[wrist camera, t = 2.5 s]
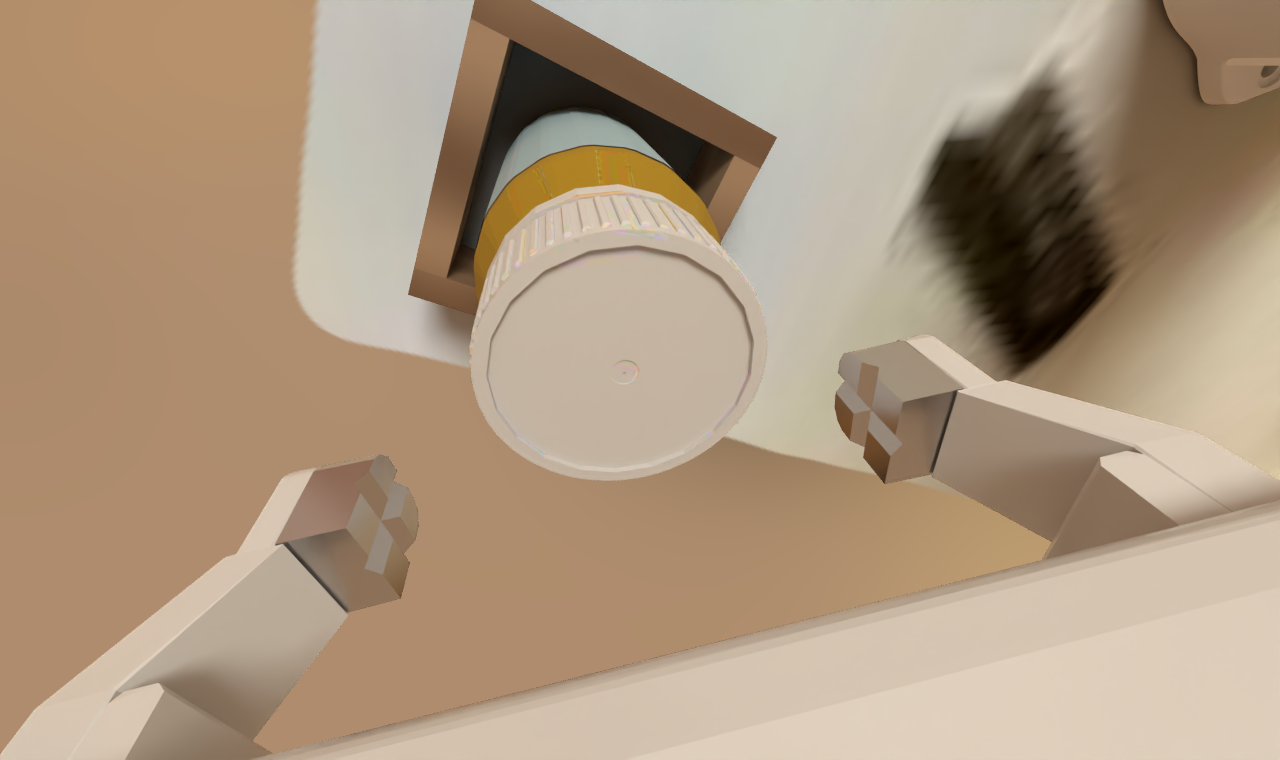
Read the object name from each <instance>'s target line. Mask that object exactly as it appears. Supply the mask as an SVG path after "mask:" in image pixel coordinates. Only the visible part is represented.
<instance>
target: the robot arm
mask: <svg viewBox="0 0 1280 760" xmlns="http://www.w3.org/2000/svg"><path fill="white" fill-rule="evenodd" d="M1163 3H1164V7H1165V10H1166V12H1167V15H1168V18H1169V20H1170V21H1171V23H1172V25H1173V27H1174V28H1175V30H1176V31H1177V32H1178V34H1179V35H1180V36H1181V37H1182V38H1183V39H1184V40H1185V41H1186V42H1187V43H1188V44H1189V46H1190V47H1191V48H1192V50H1193V51H1194V53H1195V55H1196V57H1197V68H1198V83H1199V91H1200V95H1201V98H1202V100H1203V101H1204V102H1205V103H1206V104H1210V105H1216V104H1237V103H1241V102H1243V101H1246V100H1249V99H1251V98H1254V97H1256V96H1259V95H1261V94H1264V93H1267V92H1269V91H1272V90H1274V89H1277V88H1279V87H1280V0H1163ZM838 373H839V374H840V376H841V377H842V378H843V379H844V380H845V381H844V383H843V384H842V385H841V386H840V388H839V389H838V390H837V392H836V396H835V411H836V415H837V420H838V422H839V424H840V427H841V429H842V431H843V432H844V433H845V435H846V436H847V437H848V439H849V440H850V441H852V442H855V443H857V444H859V445H861V446H864V447H865V449H864V456H863V458H864V459H865V460H866V461H867V463H868V464H869V465H870V466H871V468H872V469H873V470H874V471H875V473H876V474H877V475H878V476H879V478H880V479H881V480H882V481H883V483H884V484H887V483H891V482H897V481H902V480H906V479H911V478H916V477H921V476H926V475H930V474H932V477H934V478H935V479H937V480H939V481H941V482H943V483H945V484H946V485H948V486H950V487H952V488H954V489H956V490H957V491H959V492H961V493H963V494H965V495H967V496H968V497H970V498H972V499H974V500H976V501H978V502H980V503H981V504H983V505H985V506H987V507H989V508H990V509H992V510H994V511H996V512H998V513H1000V514H1001V515H1003V516H1005V517H1007V518H1009V519H1011V520H1013V521H1014V522H1016V523H1018V524H1020V525H1022V526H1024V527H1025V528H1027V529H1029V530H1031V531H1033V532H1035V533H1036V534H1038V535H1040V536H1042V537H1044V538H1046V539H1047V540H1050V541H1051V542H1052V543H1051V544H1050V546H1049V548H1048V550H1047V552H1046V553H1045V555H1044V557H1043V558H1042V560H1041V561H1037V562H1033V563H1029V564H1025V565H1021V566H1017V567H1013V568H1009V569H1005V570H1001V571H997V572H993V573H990V574H985V575H982V576H977V577H973V578H969V579H966V580H961V581H957V582H953V583H949V584H945V585H941V586H938V587H934V588H930V589H926V590H922V591H918V592H914V593H910V594H906V595H902V596H898V597H894V598H890V599H886V600H882V601H878V602H874V603H870V604H866V605H862V606H858V607H854V608H850V609H846V610H842V611H838V612H834V613H830V614H827V615H823V616H818V617H814V618H810V619H806V620H803V621H799V622H795V623H791V624H787V625H783V626H779V627H775V628H771V629H767V630H763V631H759V632H755V633H751V634H747V635H743V636H739V637H735V638H731V639H728V640H723V641H720V642H715V643H711V644H707V645H703V646H699V647H695V648H691V649H687V650H683V651H680V652H675V653H672V654H668V655H664V656H660V657H656V658H652V659H648V660H644V661H640V662H636V663H632V664H628V665H624V666H620V667H616V668H612V669H608V670H605V671H600V672H596V673H593V674H589V675H585V676H580V677H577V678H573V679H569V680H565V681H561V682H557V683H553V684H549V685H545V686H541V687H537V688H533V689H529V690H525V691H521V692H517V693H513V694H509V695H505V696H501V697H497V698H493V699H489V700H485V701H481V702H477V703H473V704H469V705H466V706H461V707H457V708H453V709H449V710H445V711H442V712H438V713H434V714H429V715H425V716H422V717H418V718H414V719H410V720H406V721H402V722H398V723H394V724H390V725H386V726H382V727H378V728H374V729H370V730H366V731H362V732H358V733H354V734H350V735H346V736H342V737H338V738H334V739H330V740H326V741H322V742H319V743H314V744H310V745H306V746H303V747H298V748H295V749H290V750H286V751H282V752H278V753H274V754H273V753H271V752H270V751H268V750H267V749H265V748H264V747H262V746H260V745H259V744H257V743H255V742H254V741H253V739H254V738H255V737H256V736H257V734H258V733H259V732H260V730H261V729H262V728H263V726H264V725H265V724H266V722H267V721H268V720H269V718H270V717H271V716H272V715H273V713H274V712H275V711H276V709H277V708H278V707H279V705H280V704H281V703H282V701H283V700H284V699H285V698H286V696H287V695H288V694H289V692H290V691H291V690H292V688H293V687H294V686H295V684H296V683H297V682H298V681H299V679H300V678H301V677H302V675H303V674H304V673H305V671H306V670H307V669H308V668H309V666H310V665H311V664H312V662H313V661H314V660H315V658H316V657H317V656H318V654H319V653H320V652H321V650H322V649H323V648H324V647H325V645H326V644H327V643H328V641H329V640H330V639H331V637H332V636H333V635H334V633H335V632H336V631H337V630H338V628H339V627H340V626H341V624H342V623H343V622H344V620H345V619H346V618H347V616H348V613H347V612H351V611H355V610H359V609H363V608H366V607H370V606H374V605H378V604H382V603H385V602H389V601H393V600H397V599H400V598H401V596H402V592H403V588H404V584H405V580H406V576H407V572H408V568H409V564H410V562H409V561H408V559H407V558H406V556H405V555H404V553H405V551H406V550H407V549H408V548H409V547H410V546H411V545H412V544H413V542H414V541H415V540H416V536H417V531H418V527H419V524H418V509H417V506H416V503H415V500H414V497H413V495H412V494H411V492H410V490H409V489H408V488H407V487H405V486H403V485H401V484H399V483H397V482H395V481H394V479H395V475H396V473H397V469H396V468H395V466H394V465H393V463H392V462H391V460H390V459H389V457H387V456H384V455H375V456H370V457H365V458H360V459H354V460H349V461H344V462H339V463H334V464H329V465H325V466H321V467H315V468H311V469H306V470H301V471H296V472H292V473H290V474H288V475H286V476H285V477H283V478H282V479H281V481H280V483H279V484H278V486H277V488H276V490H275V491H274V493H273V494H272V496H271V498H270V499H269V501H268V503H267V505H266V506H265V508H264V509H263V511H262V513H261V514H260V516H259V517H258V519H257V521H256V523H255V524H254V526H253V528H252V529H251V531H250V533H249V534H248V536H247V537H246V539H245V541H244V542H243V544H242V546H241V547H240V549H239V551H238V552H237V554H236V555H232V556H227V557H225V558H224V559H222V560H221V561H220V562H219V563H217V564H216V565H215V566H214V567H212V568H211V569H210V570H209V571H207V572H206V573H205V574H204V575H202V576H201V577H200V578H199V579H197V580H196V581H195V582H194V583H192V584H191V585H190V586H189V587H187V588H186V589H185V590H184V591H182V592H181V593H180V594H179V595H177V596H176V597H175V598H174V599H172V600H171V601H170V602H169V603H167V604H166V605H165V606H164V607H163V608H161V609H160V610H158V611H157V612H156V613H155V614H153V615H152V616H151V617H150V618H148V619H147V620H146V621H145V622H143V623H142V624H141V625H140V626H139V627H137V628H136V629H135V630H134V631H132V632H131V633H130V634H128V635H127V636H126V637H125V638H123V639H122V640H121V641H120V642H118V643H117V644H116V645H115V646H114V647H112V648H111V649H110V650H108V651H107V652H106V653H105V654H103V655H102V656H101V657H100V658H98V659H97V660H96V661H95V662H94V663H92V664H91V665H90V666H88V667H87V668H86V669H85V670H83V671H82V672H81V673H80V674H78V675H77V676H76V677H75V678H73V679H72V680H71V681H70V682H68V683H67V684H66V685H65V686H63V687H62V688H61V689H60V690H58V691H57V692H56V693H55V694H53V695H52V696H51V697H50V698H48V699H47V700H46V701H45V702H43V703H42V704H41V705H40V706H38V707H37V708H36V709H35V710H34V711H33V712H32V714H31V715H30V716H29V718H28V719H27V720H26V722H25V723H24V724H23V725H22V727H21V728H20V729H19V731H18V732H17V733H16V735H15V736H14V737H13V739H12V740H11V741H10V742H9V744H8V745H7V746H6V748H5V749H4V750H3V752H2V753H1V754H0V760H1280V481H1279V480H1278V479H1276V478H1274V477H1272V476H1271V475H1269V474H1267V473H1266V472H1264V471H1262V470H1261V469H1259V468H1257V467H1255V466H1254V465H1252V464H1250V463H1249V462H1247V461H1245V460H1243V459H1242V458H1240V457H1238V456H1237V455H1235V454H1233V453H1232V452H1230V451H1228V450H1226V449H1225V448H1223V447H1221V446H1220V445H1218V444H1216V443H1214V442H1213V441H1211V440H1209V439H1208V438H1206V437H1204V436H1203V435H1201V434H1199V433H1197V432H1194V431H1191V430H1187V429H1183V428H1180V427H1176V426H1172V425H1169V424H1165V423H1161V422H1158V421H1154V420H1150V419H1147V418H1143V417H1139V416H1136V415H1132V414H1128V413H1125V412H1121V411H1117V410H1114V409H1110V408H1106V407H1103V406H1099V405H1095V404H1092V403H1088V402H1084V401H1081V400H1077V399H1073V398H1070V397H1066V396H1062V395H1058V394H1055V393H1051V392H1047V391H1044V390H1040V389H1036V388H1033V387H1029V386H1025V385H1022V384H1018V383H1014V382H1011V381H1007V380H1004V381H999V382H996V381H995V380H993V379H992V378H991V377H989V376H988V375H986V374H985V373H984V372H982V371H981V370H980V369H978V368H977V367H975V366H974V365H973V364H971V363H970V362H969V361H967V360H966V359H964V358H963V357H962V356H960V355H959V354H957V353H956V352H955V351H953V350H952V349H951V348H949V347H948V346H946V345H945V344H944V343H942V342H941V341H939V340H938V339H937V338H935V337H934V336H931V335H927V334H922V335H918V336H914V337H910V338H906V339H902V340H898V341H897V342H893V343H889V344H884V345H880V346H875V347H871V348H866V349H862V350H857V351H853V352H848V353H844V354H843V356H842V358H841V360H840V363H839V370H838Z"/></svg>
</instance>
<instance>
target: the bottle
mask: <svg viewBox="0 0 1280 760" xmlns="http://www.w3.org/2000/svg"><path fill="white" fill-rule="evenodd" d="M474 276H475V287H476V296H477V300H478V303H479V305H478V309H477V313H476V317H475V321H474V325H473V329H472V333H471V342H470V346H469V353H470V359H469V368H470V370H471V377H470V378H471V382H472V383H473V388H474V394H475V396H476V399H477V402H478V404H479V407H480V409H481V411H482V413H483V415H484V417H485V419H486V420H487V422H488V423H489V425H490V426H491V428H492V429H493V430H494V432H495V433H496V434H497V435H498V436H499V437H500V438H501V439H502V441H504V443H506V444H507V445H508V446H509V447H510V448H511V449H513V450H514V451H515V452H517V453H518V454H519V455H520V456H522V457H524V458H525V459H527V460H528V461H530V462H532V463H534V464H536V465H538V466H540V467H542V468H544V469H547V470H550V471H552V472H555V473H558V474H561V475H565V476H569V477H574V478H579V479H586V480H597V481H615V480H628V479H635V478H640V477H645V476H649V475H653V474H657V473H660V472H663V471H666V470H669V469H671V468H674V467H676V466H678V465H681V464H683V463H685V462H687V461H689V460H691V459H693V458H694V457H696V456H698V455H699V454H701V453H703V452H704V451H706V450H707V449H709V448H710V447H711V446H713V445H714V444H715V443H716V442H718V441H719V440H720V439H721V438H722V437H723V436H725V435H726V434H727V433H728V432H729V431H730V430H731V429H732V428H733V426H734V425H735V424H736V423H737V422H738V421H739V419H740V418H741V417H742V415H743V414H744V413H745V411H746V410H747V408H748V407H749V405H750V403H751V402H752V400H753V398H754V396H755V394H756V392H757V390H758V387H759V385H760V382H761V379H762V376H763V372H764V368H765V363H766V356H767V334H766V326H765V321H764V317H763V314H762V311H761V304H760V303H759V301H758V300H757V299H756V292H755V290H754V289H753V288H752V287H751V285H750V284H749V280H748V278H747V277H746V276H745V274H744V273H743V272H742V271H741V270H740V268H739V267H738V265H737V264H736V263H735V262H734V261H733V260H732V258H731V257H730V256H729V255H728V254H727V253H726V252H725V250H724V249H723V248H722V247H721V245H720V238H719V235H718V231H717V229H716V227H715V225H714V223H713V221H712V218H711V216H710V214H709V212H708V210H707V208H706V206H705V204H704V203H703V202H702V200H701V199H700V197H699V196H698V194H697V193H696V192H695V190H694V189H693V188H692V187H691V186H690V185H689V184H688V183H687V182H686V181H685V180H684V179H683V178H682V177H681V176H680V175H679V174H678V173H677V172H676V171H675V170H674V169H673V168H672V167H671V166H670V165H669V164H668V163H667V162H666V161H665V160H664V159H663V158H661V157H660V156H659V155H658V154H657V153H656V152H655V151H654V150H653V149H652V148H651V147H650V146H649V145H648V144H647V143H646V142H645V141H644V140H643V139H642V138H641V137H640V136H639V135H638V134H637V133H636V132H635V131H634V130H633V129H632V128H631V127H630V126H629V125H628V124H627V123H625V122H624V121H622V120H620V119H618V118H616V117H614V116H612V115H610V114H608V113H606V112H604V111H602V110H598V109H595V108H584V107H566V108H562V109H558V110H555V111H551V112H548V113H545V114H543V115H541V116H540V117H538V118H537V119H536V120H534V121H533V122H531V123H530V124H529V125H527V126H526V127H525V128H524V129H523V130H522V131H521V132H520V133H519V135H518V136H517V138H516V139H515V141H514V142H513V144H512V145H511V146H510V148H509V150H508V151H507V153H506V156H505V158H504V161H503V164H502V167H501V170H500V173H499V175H498V178H497V181H496V184H495V187H494V190H493V193H492V196H491V199H490V202H489V205H488V208H487V211H486V214H485V217H484V220H483V223H482V227H481V231H480V235H479V238H478V242H477V246H476V252H475V256H474Z"/></svg>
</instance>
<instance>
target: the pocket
mask: <svg viewBox="0 0 1280 760" xmlns="http://www.w3.org/2000/svg"><path fill="white" fill-rule="evenodd" d="M515 42H517V43H519V44H521V45H523V46H525V47H527V48H528V49H530V50H532V51H534V52H536V53H538V54H540V55H542V56H544V57H546V58H548V59H550V60H552V61H553V62H555V63H557V64H559V65H561V66H563V67H565V68H567V69H569V70H571V71H573V72H575V73H577V74H578V75H580V76H582V77H584V78H586V79H588V80H590V81H592V82H594V83H596V84H598V85H600V86H602V87H604V88H605V89H607V90H609V91H611V92H613V93H615V94H617V95H619V96H621V97H623V98H625V99H627V100H629V101H630V102H632V103H634V104H636V105H638V106H640V107H642V108H644V109H646V110H648V111H650V112H652V113H654V114H655V115H657V116H659V117H661V118H663V119H665V120H667V121H669V122H671V123H673V124H675V125H677V126H679V127H681V128H682V129H684V130H686V131H688V132H690V133H692V134H694V135H696V136H698V137H700V138H702V139H704V140H705V142H704V144H703V146H702V148H701V150H700V152H699V155H698V157H697V159H696V161H695V163H694V165H693V167H692V169H691V172H690V174H689V176H688V178H687V180H686V182H687V183H688V184H689V185H690V186H691V187H692V188H693V189H694V190H695V192H696V193H697V194H698V196H699V197H700V199H701V200H702V202H703V203H704V204H705V206H706V208H707V210H708V212H709V214H710V216H711V218H712V221H713V223H714V225H715V227H716V229H717V231H718V235H719V238H720V242H721V240H722V239H723V237H724V235H725V233H726V231H727V229H728V227H729V226H730V224H731V222H732V220H733V218H734V216H735V214H736V213H737V211H738V209H739V207H740V205H741V203H742V201H743V200H744V198H745V196H746V194H747V192H748V190H749V189H750V187H751V185H752V183H753V181H754V179H755V177H756V176H757V174H758V172H759V170H760V168H761V166H762V164H763V163H764V161H765V159H766V157H767V155H768V153H769V151H770V150H771V148H772V146H773V144H774V142H775V140H776V138H777V137H775V136H773V135H772V134H770V133H768V132H766V131H764V130H763V129H761V128H759V127H757V126H755V125H754V124H752V123H750V122H748V121H746V120H745V119H743V118H741V117H739V116H738V115H736V114H734V113H732V112H730V111H729V110H727V109H725V108H723V107H721V106H720V105H718V104H716V103H714V102H712V101H711V100H709V99H707V98H705V97H703V96H702V95H700V94H698V93H696V92H694V91H693V90H691V89H689V88H687V87H685V86H684V85H682V84H680V83H678V82H676V81H675V80H673V79H671V78H669V77H667V76H666V75H664V74H662V73H660V72H658V71H657V70H655V69H653V68H651V67H650V66H648V65H646V64H644V63H642V62H641V61H639V60H637V59H635V58H633V57H632V56H630V55H628V54H626V53H624V52H623V51H621V50H619V49H617V48H615V47H614V46H612V45H610V44H608V43H606V42H605V41H603V40H601V39H599V38H597V37H596V36H594V35H592V34H590V33H588V32H587V31H585V30H583V29H581V28H579V27H578V26H576V25H574V24H572V23H570V22H569V21H567V20H565V19H563V18H562V17H560V16H558V15H556V14H554V13H553V12H551V11H549V10H547V9H545V8H544V7H542V6H540V5H538V4H536V3H535V2H533V1H531V0H475V1H474V6H473V10H472V15H471V19H470V24H469V28H468V32H467V37H466V41H465V46H464V50H463V54H462V59H461V63H460V68H459V72H458V77H457V81H456V85H455V90H454V94H453V99H452V103H451V107H450V112H449V116H448V121H447V125H446V130H445V134H444V138H443V143H442V147H441V152H440V156H439V160H438V165H437V169H436V174H435V178H434V183H433V187H432V191H431V196H430V200H429V205H428V209H427V214H426V218H425V222H424V227H423V231H422V236H421V240H420V244H419V249H418V253H417V258H416V262H415V267H414V271H413V275H412V280H411V284H410V289H409V293H408V295H411V296H414V297H417V298H421V299H424V300H427V301H430V302H434V303H437V304H440V305H444V306H447V307H450V308H453V309H457V310H460V311H463V312H466V313H470V314H473V315H476V313H477V309H478V305H479V303H478V300H477V296H476V287H475V276H474V256H475V252H476V250H475V249H472V248H469V247H466V246H463V245H461V240H462V236H463V233H464V229H465V225H466V221H467V218H468V214H469V210H470V207H471V203H472V199H473V195H474V192H475V188H476V184H477V181H478V177H479V173H480V169H481V166H482V162H483V158H484V155H485V151H486V147H487V143H488V140H489V136H490V132H491V128H492V125H493V121H494V117H495V114H496V110H497V106H498V102H499V99H500V95H501V91H502V88H503V84H504V80H505V76H506V73H507V69H508V65H509V62H510V58H511V54H512V50H513V47H514V43H515Z"/></svg>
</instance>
